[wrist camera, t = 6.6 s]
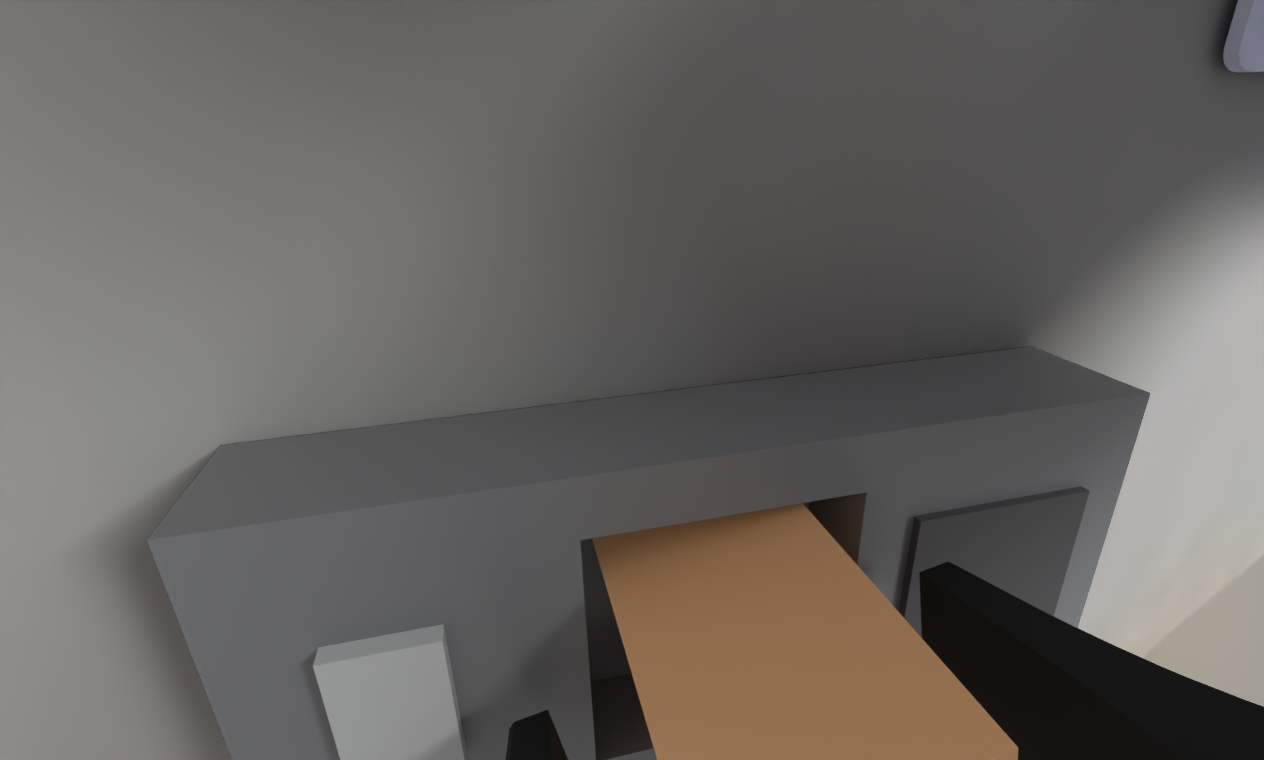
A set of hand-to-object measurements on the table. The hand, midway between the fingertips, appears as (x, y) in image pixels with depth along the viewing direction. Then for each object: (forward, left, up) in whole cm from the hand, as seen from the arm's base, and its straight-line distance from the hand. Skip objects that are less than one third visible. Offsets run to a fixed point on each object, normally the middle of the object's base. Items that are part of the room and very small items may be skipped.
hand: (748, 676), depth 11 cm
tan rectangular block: (0, 0, -3) cm, 3 cm away
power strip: (0, 0, -4) cm, 4 cm away
